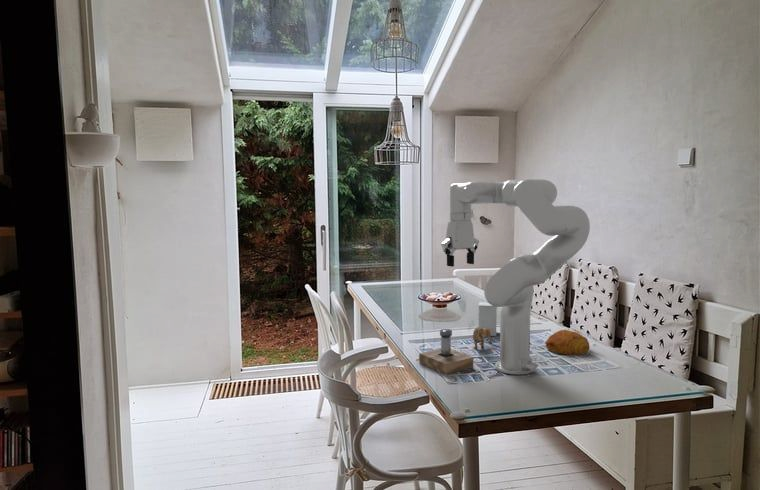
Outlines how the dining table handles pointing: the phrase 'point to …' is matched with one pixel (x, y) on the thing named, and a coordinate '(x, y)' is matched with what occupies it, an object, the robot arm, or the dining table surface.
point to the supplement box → (487, 317)
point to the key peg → (445, 342)
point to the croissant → (567, 343)
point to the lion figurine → (481, 336)
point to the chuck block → (446, 361)
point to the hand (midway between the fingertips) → (460, 265)
